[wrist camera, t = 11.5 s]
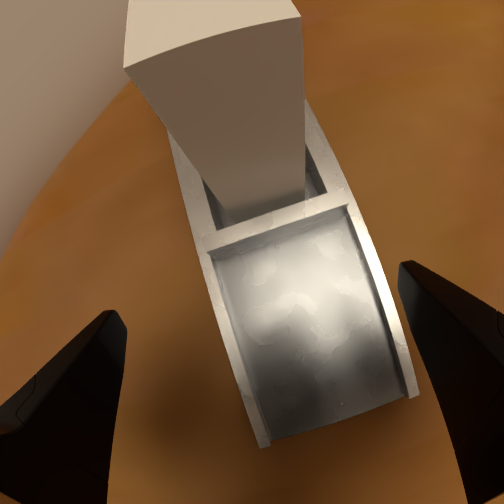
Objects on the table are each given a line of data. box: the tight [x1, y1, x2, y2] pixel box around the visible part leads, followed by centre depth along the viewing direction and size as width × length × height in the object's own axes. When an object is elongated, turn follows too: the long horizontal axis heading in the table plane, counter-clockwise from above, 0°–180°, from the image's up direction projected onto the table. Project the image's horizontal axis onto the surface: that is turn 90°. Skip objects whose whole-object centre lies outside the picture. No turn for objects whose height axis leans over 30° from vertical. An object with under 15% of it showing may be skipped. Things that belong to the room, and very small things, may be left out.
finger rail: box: [167, 99, 420, 448], centre depth 12 cm, size 25×9×14 cm, turn 18°
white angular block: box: [123, 0, 305, 223], centre depth 12 cm, size 5×4×12 cm
